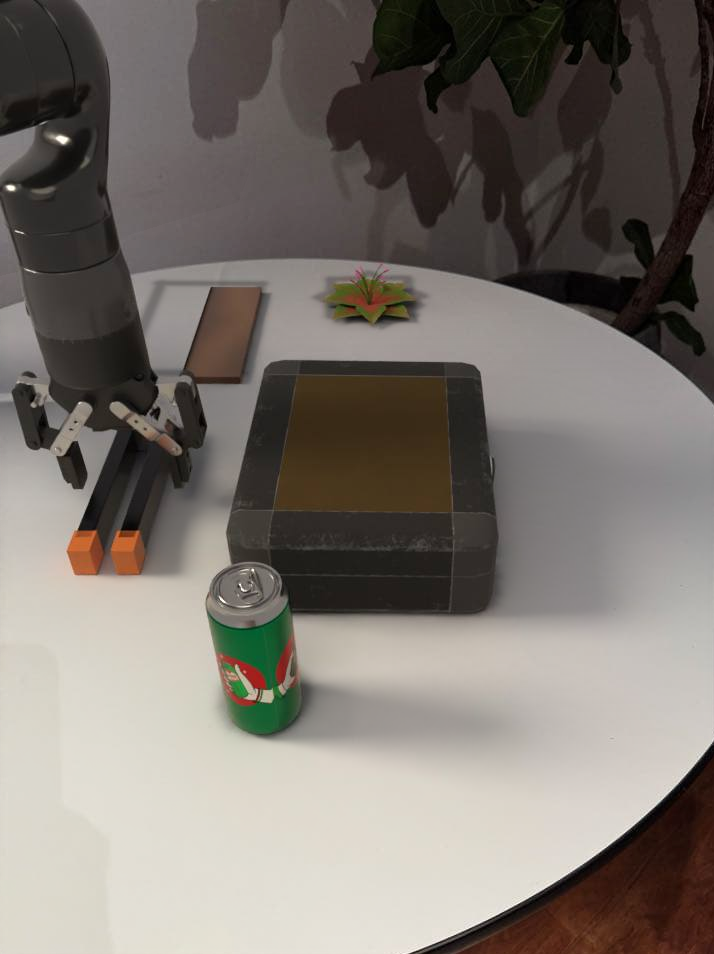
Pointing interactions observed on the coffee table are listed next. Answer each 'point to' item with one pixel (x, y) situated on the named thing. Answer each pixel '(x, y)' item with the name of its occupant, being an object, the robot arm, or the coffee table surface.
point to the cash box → (370, 486)
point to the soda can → (255, 646)
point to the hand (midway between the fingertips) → (130, 483)
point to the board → (224, 335)
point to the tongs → (106, 500)
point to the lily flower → (369, 298)
